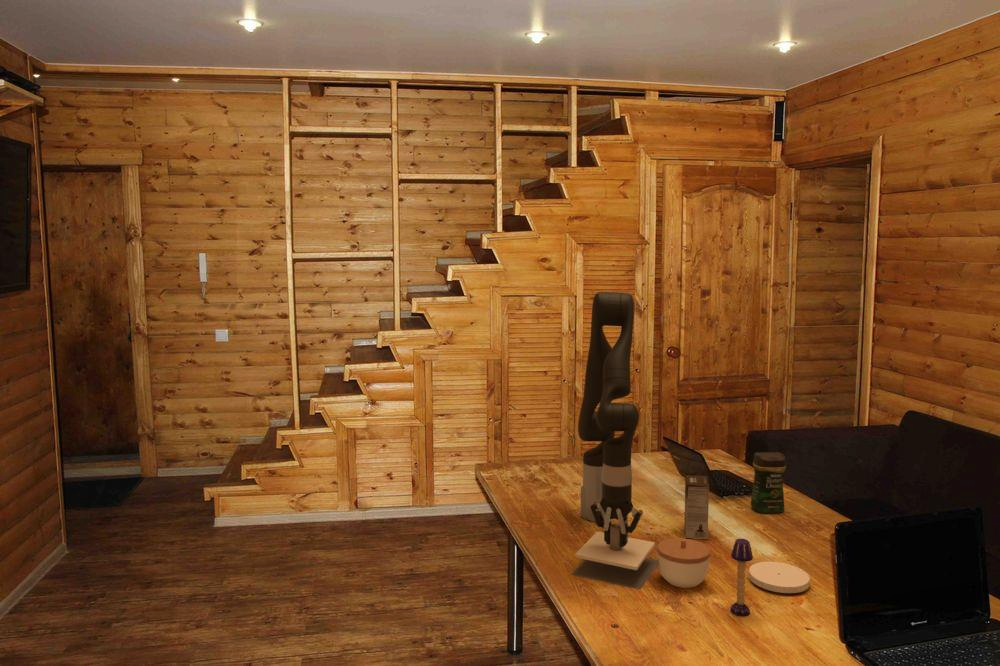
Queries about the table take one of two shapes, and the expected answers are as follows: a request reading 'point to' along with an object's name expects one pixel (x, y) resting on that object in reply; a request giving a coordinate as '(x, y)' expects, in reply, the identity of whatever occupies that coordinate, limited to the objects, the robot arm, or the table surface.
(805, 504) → the table surface
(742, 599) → the toy lamp
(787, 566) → the plastic lid
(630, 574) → the rubber mat
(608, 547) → the cover board
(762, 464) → the coffee jar
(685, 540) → the lidded bowl
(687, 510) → the coffee box
